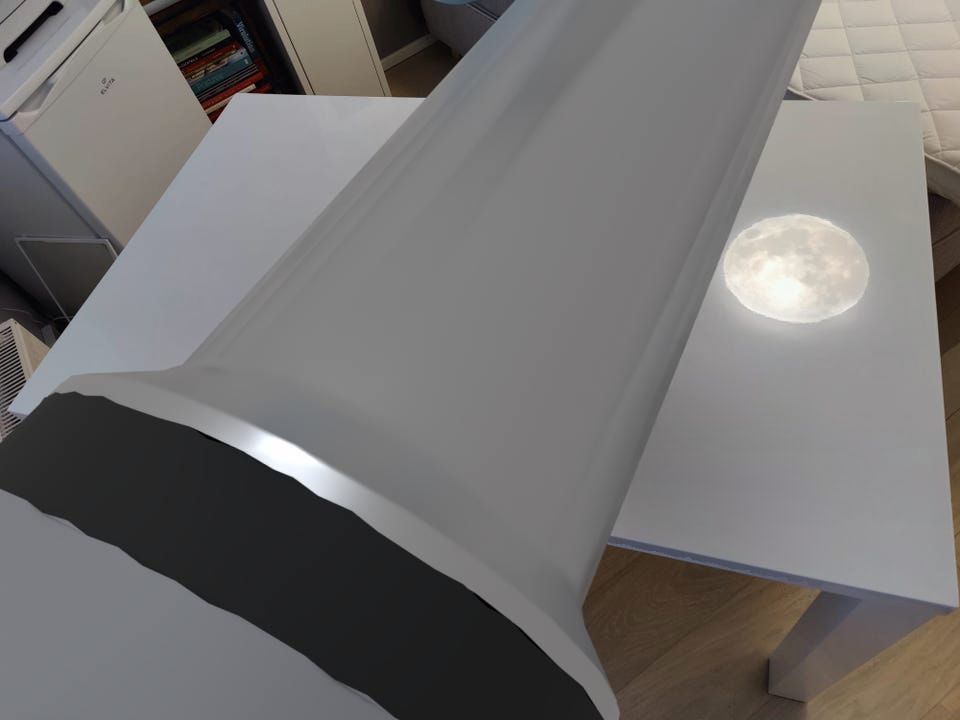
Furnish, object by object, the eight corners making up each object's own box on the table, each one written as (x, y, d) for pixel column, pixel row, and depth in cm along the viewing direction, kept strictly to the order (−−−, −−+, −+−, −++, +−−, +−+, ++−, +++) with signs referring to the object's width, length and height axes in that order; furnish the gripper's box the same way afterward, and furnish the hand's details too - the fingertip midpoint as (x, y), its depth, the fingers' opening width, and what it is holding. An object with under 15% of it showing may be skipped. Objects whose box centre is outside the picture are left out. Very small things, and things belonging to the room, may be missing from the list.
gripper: (460, 56, 41) (512, 307, 60) (739, -64, 44) (707, 212, 62) (412, 6, 46) (474, 254, 64) (669, -100, 48) (658, 167, 67)
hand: (589, 233), depth 63 cm, fingers closed on beverage can, 7 cm apart
